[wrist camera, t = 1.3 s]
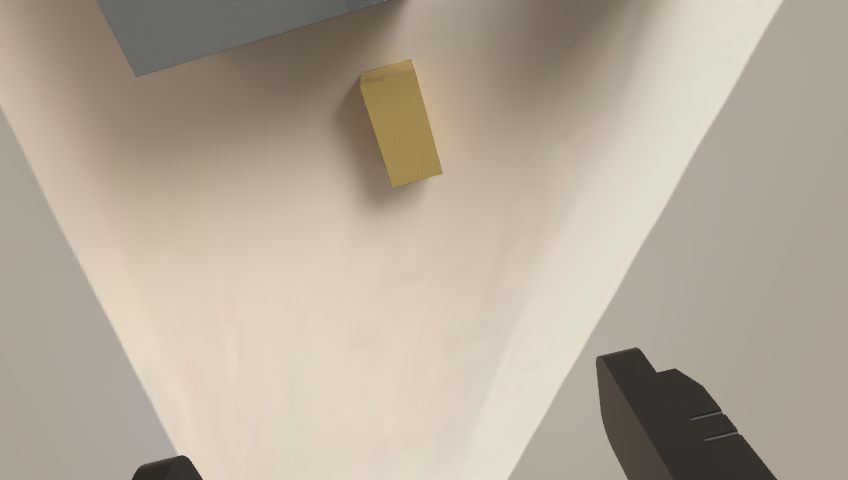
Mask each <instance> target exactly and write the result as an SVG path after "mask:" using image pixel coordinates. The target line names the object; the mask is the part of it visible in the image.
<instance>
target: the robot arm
mask: <svg viewBox="0 0 848 480" xmlns="http://www.w3.org/2000/svg"><path fill="white" fill-rule="evenodd" d="M596 368H597V378H598V388H599V397H600V407H601V415H602V420H603V424H604V428H605V431H606V434H607V437H608V439H609V442H610V444H611V446H612V449H613V451H614V453H615V455H616V457H617V458H618V460H619V462H620V464H621V466H622V468H623V470H624V472H625V474H626V476H627V478H628V480H777V479H776V478H775V477H774V475H773V474H772V473H771V472H770V470H769V469H768V468H767V467H766V465H765V464H764V463H763V461H762V460H761V459H760V458H759V456H758V455H757V454H756V453H755V451H754V450H753V449H752V448H751V446H750V445H749V444H748V443H747V442H746V440H745V439H744V438H743V436H742V435H739V434H738V431H737V429H736V427H735V426H734V425H733V424H732V422H731V421H730V420H729V419H728V417H727V416H726V415H723V414H722V411H721V409H720V407H719V406H718V405H717V403H716V402H715V401H714V400H713V398H712V397H711V396H710V395H709V393H708V392H707V391H706V390H705V388H704V387H703V386H702V385H700V384H699V383H697V382H696V381H694V380H693V379H691V378H690V377H688V376H686V375H685V374H683V373H682V372H680V371H678V370H677V369H671V370H667V371H662V372H658V373H657V372H656V371H655V369H654V368H653V367H652V365H651V364H650V362H649V361H648V360H647V358H646V357H645V355H644V354H643V353H642V351H641V350H640V349H638V348H636V347H635V348H631V349H627V350H623V351H619V352H615V353H611V354H606V355H602V356H598V357H597V358H596ZM132 480H203V479H202V477H201V476H200V474H199V473H198V471H197V470H196V468H195V467H194V465H193V464H192V462H191V461H190V459H189V458H187V457H186V456H183V455H181V456H177V457H173V458H168V459H164V460H160V461H156V462H152V463H148V464H144V465H142V466H140V467H139V468H138V469H137V471H136V473H135V474H134V476H133V478H132Z"/></svg>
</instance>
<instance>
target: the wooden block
mask: <svg viewBox="0 0 848 480" xmlns="http://www.w3.org/2000/svg"><path fill="white" fill-rule="evenodd" d="M360 89H361V92H362V95H363V98H364V101H365V104H366V108H367V111H368V114H369V117H370V120H371V123H372V126H373V129H374V132H375V135H376V138H377V141H378V145H379V148H380V151H381V154H382V157H383V160H384V163H385V166H386V169H387V172H388V175H389V179H390V182H391V185H392V188H393V187H397V186H401V185H404V184H408V183H411V182H415V181H418V180H422V179H425V178H429V177H432V176H436V175H439V174H443V173H442V170H441V166H440V162H439V158H438V155H437V151H436V147H435V144H434V140H433V136H432V132H431V129H430V125H429V121H428V118H427V114H426V110H425V107H424V103H423V99H422V95H421V92H420V88H419V84H418V81H417V77H416V73H415V70H414V67H413V64H412V61H411V59H409V60H405V61H402V62H399V63H395V64H392V65H388V66H385V67H382V68H378V69H375V70H372V71H368V72H365V73H362V74H361V78H360Z"/></svg>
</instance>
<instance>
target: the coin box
mask: <svg viewBox="0 0 848 480" xmlns="http://www.w3.org/2000/svg"><path fill="white" fill-rule="evenodd" d="M386 1H389V0H97V2H98V4H99V6H100V8H101V10H102V12H103V13H104V15H105V17H106V19H107V21H108V23H109V25H110V27H111V29H112V31H113V33H114V35H115V36H116V38H117V40H118V42H119V44H120V46H121V48H122V50H123V52H124V54H125V56H126V58H127V59H128V61H129V63H130V65H131V67H132V69H133V71H134V73H135V75H136V77H139V76H142V75H145V74H148V73H152V72H155V71H158V70H162V69H165V68H168V67H172V66H175V65H178V64H181V63H185V62H188V61H191V60H195V59H198V58H201V57H204V56H208V55H211V54H214V53H218V52H221V51H224V50H227V49H231V48H234V47H237V46H241V45H244V44H247V43H251V42H254V41H257V40H260V39H264V38H267V37H270V36H274V35H277V34H280V33H283V32H287V31H290V30H293V29H297V28H300V27H303V26H307V25H310V24H313V23H316V22H320V21H323V20H326V19H330V18H333V17H336V16H339V15H343V14H346V13H349V12H353V11H356V10H359V9H362V8H366V7H369V6H372V5H376V4H379V3H382V2H386Z"/></svg>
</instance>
